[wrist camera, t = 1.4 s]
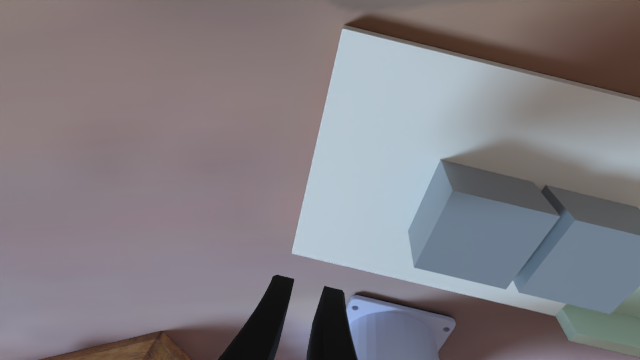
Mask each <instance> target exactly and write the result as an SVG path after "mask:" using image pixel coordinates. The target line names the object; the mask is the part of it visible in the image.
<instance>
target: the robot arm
mask: <svg viewBox="0 0 640 360" xmlns="http://www.w3.org/2000/svg"><path fill="white" fill-rule="evenodd" d="M293 283H294V279H292V278H288V277H284V276H280V275H275V276H273V278H272V280H271V283H270V285H269V287H268V289H267V291H266V292H265V294H264V296H263V298H262V299H261V301H260V303H259V304H258V306H257V308H256V309H255V311H254V312H253V313H252V315H251V316H250V318H249V319H248V321H247V322H246V324H245V325H244V327H243V328H242V329H241V331H240V332H239V333H238V335H237V336H236V337H235V339H234V340H233V341H232V342H231V344H230V345H229V346H228V348H227V349H226V350H225V351H224V353H223V354H222V355H221V356H220V358H219V359H218V360H274V358H275V354H276V351H277V348H278V345H279V341H280V337H281V333H282V329H283V324H284V320H285V316H286V312H287V308H288V304H289V300H290V296H291V292H292V287H293ZM455 326H456V323H455V320H454V319H453V318H451V317H448V316H443V315H439V314H435V313H431V312H426V311H422V310H418V309H414V308H410V307H405V306H401V305H397V304H393V303H389V302H384V301H380V300H376V299H372V298H367V297H363V296H359V295H355V296H352V297H351V299H350V301H349V304H348V306H347V309H346V305H345V297H344V292H343V291H342V290H339V289H334V288H330V287H326V286H324V289H323V292H322V295H321V298H320V301H319V304H318V308H317V311H316V314H315V317H314V320H313V323H312V329H311V334H310V340H309V345H308V351H307V360H439V356H438V351H439V350H440V348H441V347H442V345H443V344H444V342H445V341H446V340H447V338H448V337H449V335H450V334H451V332H452V331H453V329H454V328H455Z"/></svg>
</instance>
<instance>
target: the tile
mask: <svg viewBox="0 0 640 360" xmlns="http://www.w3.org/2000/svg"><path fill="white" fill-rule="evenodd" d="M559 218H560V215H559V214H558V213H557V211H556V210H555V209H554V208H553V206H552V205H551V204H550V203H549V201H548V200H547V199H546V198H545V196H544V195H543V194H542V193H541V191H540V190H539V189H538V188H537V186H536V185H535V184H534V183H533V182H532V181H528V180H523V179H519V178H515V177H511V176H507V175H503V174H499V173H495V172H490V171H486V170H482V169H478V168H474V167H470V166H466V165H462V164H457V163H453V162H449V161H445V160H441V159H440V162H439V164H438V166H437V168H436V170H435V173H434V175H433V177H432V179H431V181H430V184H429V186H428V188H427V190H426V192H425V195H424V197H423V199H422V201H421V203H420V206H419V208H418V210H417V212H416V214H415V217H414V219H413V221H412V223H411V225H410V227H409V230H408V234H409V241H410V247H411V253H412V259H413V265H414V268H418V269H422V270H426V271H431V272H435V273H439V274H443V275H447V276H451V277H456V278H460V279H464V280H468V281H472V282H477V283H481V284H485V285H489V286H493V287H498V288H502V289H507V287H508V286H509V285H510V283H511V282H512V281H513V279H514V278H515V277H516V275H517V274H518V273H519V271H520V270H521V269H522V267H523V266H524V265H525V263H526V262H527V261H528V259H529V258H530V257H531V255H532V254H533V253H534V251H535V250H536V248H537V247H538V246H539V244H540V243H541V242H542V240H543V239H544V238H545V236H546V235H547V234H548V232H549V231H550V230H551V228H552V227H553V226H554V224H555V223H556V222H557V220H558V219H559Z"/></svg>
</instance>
